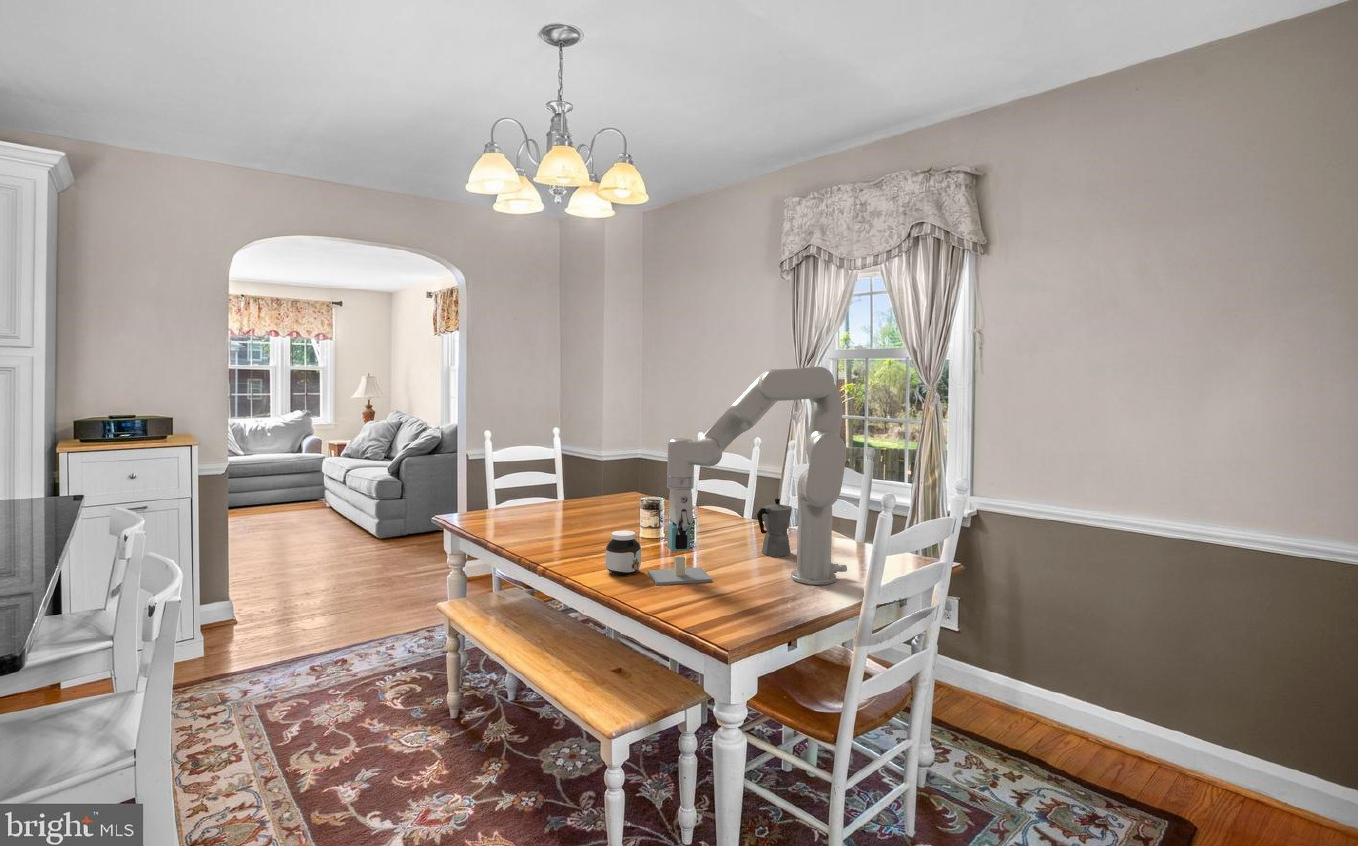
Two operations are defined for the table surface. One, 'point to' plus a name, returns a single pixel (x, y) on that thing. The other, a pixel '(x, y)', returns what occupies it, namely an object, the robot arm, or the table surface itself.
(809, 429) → the robot arm
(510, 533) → the table surface
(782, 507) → the coffeepot
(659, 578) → the stand
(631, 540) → the spread jar
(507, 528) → the table surface
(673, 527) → the teal block
